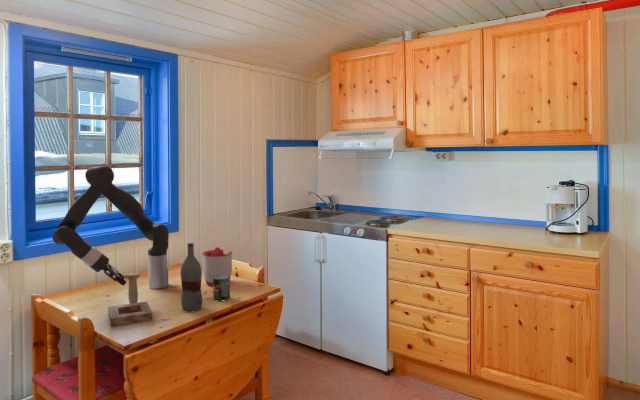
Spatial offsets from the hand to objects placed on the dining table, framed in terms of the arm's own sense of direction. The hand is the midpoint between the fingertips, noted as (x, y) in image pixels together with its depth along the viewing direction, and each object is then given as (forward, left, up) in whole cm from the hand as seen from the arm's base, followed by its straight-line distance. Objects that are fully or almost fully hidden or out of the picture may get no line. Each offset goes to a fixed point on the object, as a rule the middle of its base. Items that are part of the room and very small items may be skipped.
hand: (124, 281), depth 210 cm
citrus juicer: (-49, -18, -12) cm, 53 cm away
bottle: (-27, +16, -12) cm, 33 cm away
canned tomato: (-43, +8, -12) cm, 45 cm away
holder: (-1, +15, -12) cm, 19 cm away
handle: (-4, 0, -12) cm, 13 cm away
